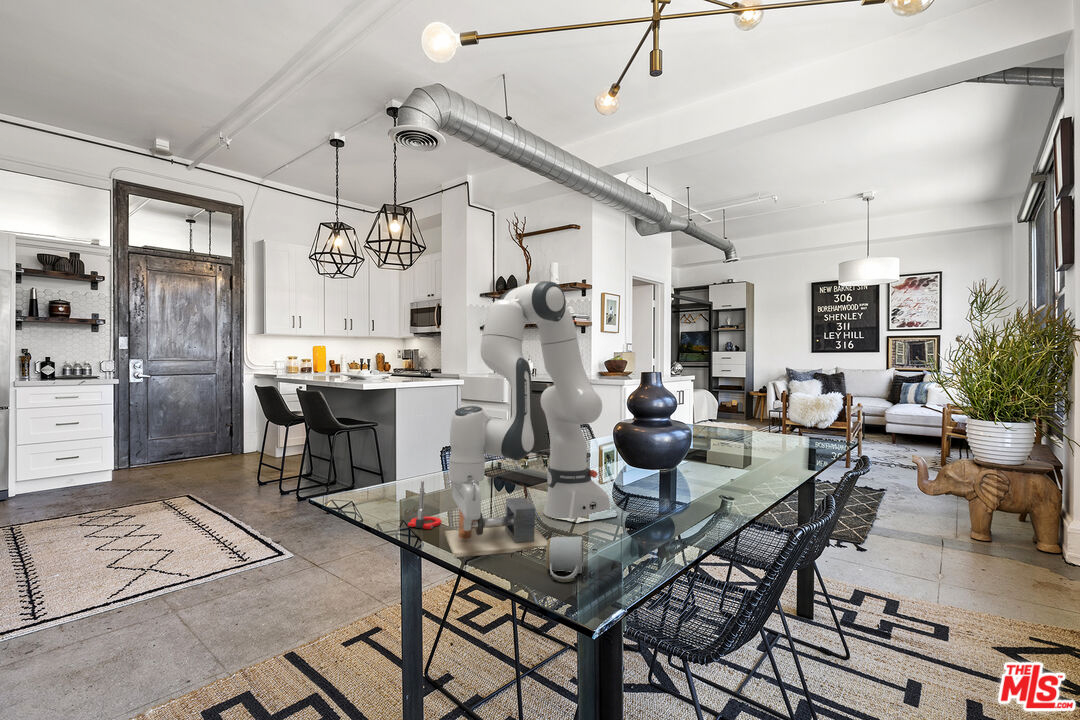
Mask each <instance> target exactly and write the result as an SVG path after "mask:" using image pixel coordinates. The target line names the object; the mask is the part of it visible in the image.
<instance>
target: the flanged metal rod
mask: <svg viewBox="0 0 1080 720" xmlns="http://www.w3.org/2000/svg"><path fill="white" fill-rule="evenodd" d="M458 514H459V515H458V530H459V536H458V537H459V538H464V539H465V538H470V537H471V532H472V529H475V530H476V534H477V535H482V533H483V528H492V527H505V526H514V516H508V517H505V516H495V517H494V516H493V517H483V513H482V511H481V516H480V519H477V520H472V523H471V530H470V531H464V529H463V522H464V517H463V514H462V512H461V511H460V509H459V508H458Z"/></svg>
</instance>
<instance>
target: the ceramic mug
mask: <svg viewBox="0 0 1080 720" xmlns="http://www.w3.org/2000/svg"><path fill="white" fill-rule="evenodd" d="M545 550H546V551H545V564H546V568H547V569H548V570H549V569H550V570H549V572H550V573H549V574H550V576H551V575H552V576H553V577H555V578H561V579H570V578H574V577H575V576H576V577H577V575H578V573H577V572H582V563H583V564H584V537H583V536H553V537H550V538H548V539H547V547H546V549H545ZM552 570H564V571H571V572H573V573H570V574H569V575H566V576H559V575H557V574H555V573H554V571H552ZM576 577H575V578H576ZM575 578H574V579H575Z"/></svg>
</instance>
